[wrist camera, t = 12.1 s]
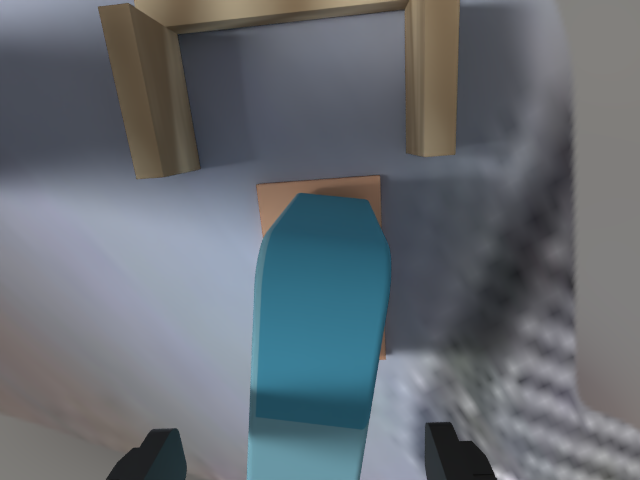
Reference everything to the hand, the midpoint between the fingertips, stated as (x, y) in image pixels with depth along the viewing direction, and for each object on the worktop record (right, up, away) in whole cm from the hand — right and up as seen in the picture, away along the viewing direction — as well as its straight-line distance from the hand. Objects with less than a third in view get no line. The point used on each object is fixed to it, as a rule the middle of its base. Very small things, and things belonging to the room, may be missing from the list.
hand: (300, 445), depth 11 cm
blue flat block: (+1, +4, +13) cm, 14 cm away
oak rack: (-1, +16, +10) cm, 19 cm away
